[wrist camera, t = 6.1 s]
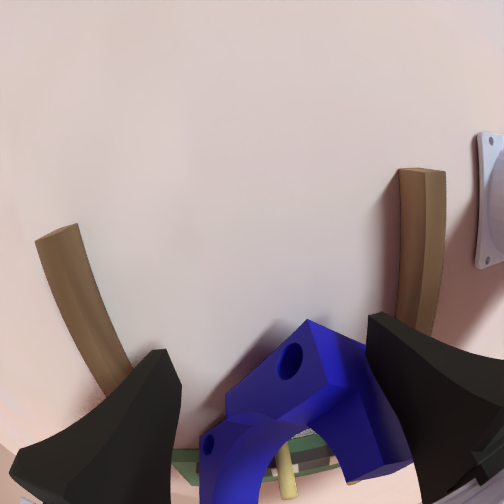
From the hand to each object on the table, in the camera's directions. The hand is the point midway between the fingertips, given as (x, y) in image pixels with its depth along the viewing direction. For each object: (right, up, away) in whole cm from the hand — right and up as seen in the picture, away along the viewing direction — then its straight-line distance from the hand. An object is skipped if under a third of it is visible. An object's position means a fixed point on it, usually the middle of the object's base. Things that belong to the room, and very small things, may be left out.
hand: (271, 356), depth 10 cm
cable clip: (0, -4, +3) cm, 5 cm away
